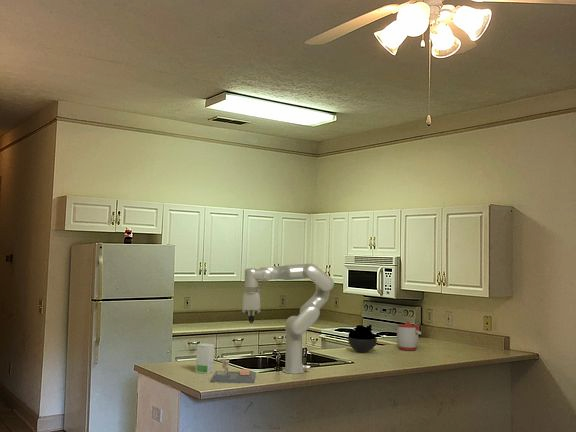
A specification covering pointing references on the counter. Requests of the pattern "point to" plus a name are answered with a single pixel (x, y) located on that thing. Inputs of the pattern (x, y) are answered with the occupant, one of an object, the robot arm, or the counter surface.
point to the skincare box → (205, 358)
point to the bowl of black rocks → (362, 339)
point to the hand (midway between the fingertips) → (251, 322)
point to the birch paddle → (225, 365)
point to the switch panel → (234, 377)
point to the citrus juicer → (407, 336)
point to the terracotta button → (245, 372)
